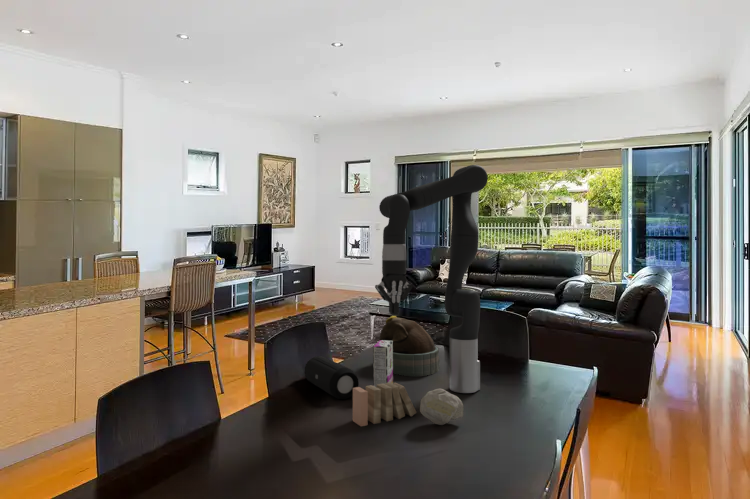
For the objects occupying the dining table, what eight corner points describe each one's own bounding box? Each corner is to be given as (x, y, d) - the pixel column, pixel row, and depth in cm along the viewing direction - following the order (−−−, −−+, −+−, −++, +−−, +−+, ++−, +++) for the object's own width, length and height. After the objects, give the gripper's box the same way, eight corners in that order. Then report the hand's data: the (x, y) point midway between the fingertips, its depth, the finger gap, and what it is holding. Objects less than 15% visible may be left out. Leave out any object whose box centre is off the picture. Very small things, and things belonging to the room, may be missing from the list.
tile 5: (359, 419, 135) (359, 387, 135) (367, 425, 131) (367, 391, 131) (352, 420, 134) (352, 387, 134) (360, 426, 130) (361, 392, 130)
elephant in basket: (372, 367, 197) (372, 313, 197) (432, 366, 200) (432, 312, 200) (378, 382, 174) (378, 321, 174) (446, 380, 177) (447, 320, 177)
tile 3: (384, 414, 139) (382, 383, 139) (393, 419, 135) (391, 387, 134) (377, 416, 138) (376, 384, 138) (386, 421, 134) (385, 388, 133)
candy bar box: (379, 387, 167) (379, 339, 168) (393, 388, 166) (393, 340, 166) (372, 397, 156) (372, 345, 157) (387, 398, 155) (387, 346, 156)
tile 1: (406, 407, 143) (394, 382, 141) (416, 412, 138) (404, 386, 136) (401, 411, 142) (389, 386, 140) (411, 416, 138) (398, 390, 136)
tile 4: (371, 417, 137) (371, 385, 137) (380, 422, 133) (380, 389, 133) (365, 418, 136) (365, 386, 136) (374, 423, 132) (374, 390, 132)
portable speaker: (302, 384, 171) (302, 356, 172) (327, 381, 176) (327, 353, 176) (332, 404, 149) (332, 371, 149) (361, 399, 154) (361, 367, 154)
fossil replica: (458, 419, 135) (458, 383, 135) (469, 430, 127) (469, 391, 127) (416, 421, 133) (416, 385, 133) (424, 432, 125) (425, 393, 125)
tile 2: (395, 410, 141) (388, 382, 140) (405, 416, 137) (397, 386, 135) (390, 413, 140) (382, 384, 139) (399, 419, 136) (391, 389, 134)
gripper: (381, 259, 146) (381, 317, 145) (418, 259, 152) (418, 314, 152) (369, 258, 152) (369, 314, 152) (405, 258, 159) (405, 312, 158)
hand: (394, 314), depth 152 cm, fingers closed
